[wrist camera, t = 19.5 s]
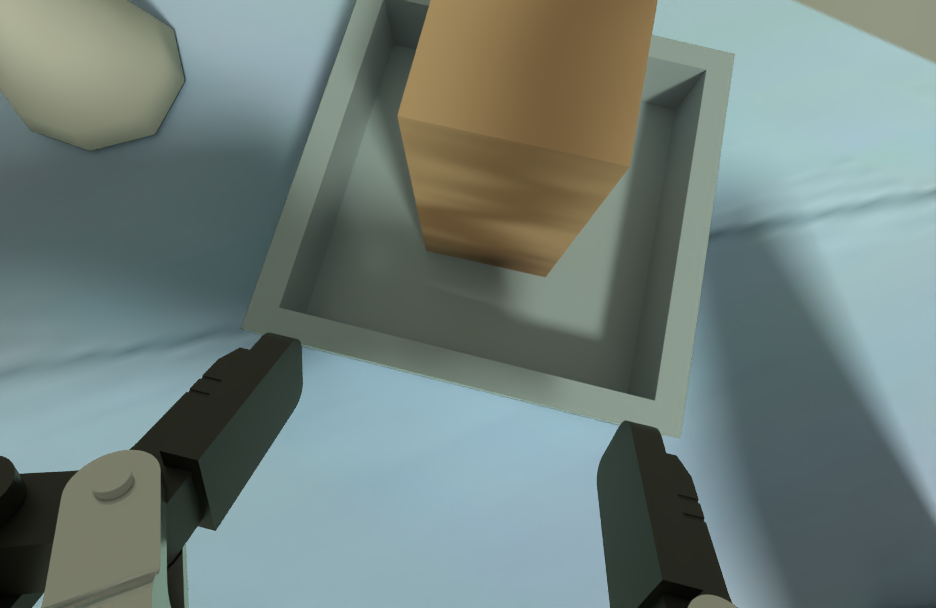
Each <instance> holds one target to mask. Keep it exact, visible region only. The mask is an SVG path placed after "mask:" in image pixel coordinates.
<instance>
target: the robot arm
mask: <svg viewBox="0 0 936 608" xmlns="http://www.w3.org/2000/svg"><path fill="white" fill-rule="evenodd" d="M302 387H303V376H302V347H301V342H300V340H298V339H295V338H291V337H286V336H282V335H278V334H274V333H270V332H268V333H266V334H264V335H263V336H262V337H261V338H260V339H259V340H258V342H257V343H256V344H255V345H254V346H253V347H252V348H251V349H250V350H248V349H244V348H238V349H236V350H235V351H233V352H231V353H229V354H227V355H225V356H224V357H222V358H220V359H218V360H217V361H216V362H215V363H214V364H213V365H212V366H211V367H210V368H209V369H208V370H207V371H206V373H205V374H204V375H203V377H202V379H199V380H198V381H197V382H196V383H195V384H194V385H193V386H192V387H191V388H190V391H189V392H186V393H185V394H184V395H183V396H182V397H181V398H180V399H179V400H178V401H177V402H176V403H175V404H174V405H173V406H172V407H171V409H170V410H169V411H168V412H167V413H166V414H165V415H164V416H163V417H162V418H161V419H160V420H159V421H158V422H157V423H156V424H155V425H154V426H153V427H152V428H151V429H150V430H149V431H148V432H147V433H146V434H145V435H144V436H143V437H142V438H141V439H140V440H139V441H138V442H137V443H136V444H135V445H134V446H133V447H132V448H131V449H129V450H123V451H118V452H114V453H110V454H107V455H105V456H102V457H100V458H98V459H96V460H94V461H92V462H90V463H89V464H87V465H86V466H84V467H83V468H82V469H80V470H78V471H65V472H45V473H26V474H19V473H18V471H17V470H16V468H15V466H14V465H13V463H12V462H11V461H10V460H9V459H7V458H5V457H3V456H0V608H32V607H33V606H34V604H35V603H36V602H37V601H38V599H39V598H40V597H41V596H42V595H43V593H44V598H43V603H42V607H41V608H189V603H188V579H187V555H186V544H185V543H186V542H187V541H188V539H189V538H190V536H191V535H192V533H193V532H194V530H195V529H196V528H197V526H199V527H203V528H207V529H211V530H215V531H216V529H217V528H218V526H219V525H220V523H221V522H222V520H223V519H224V517H225V516H226V514H227V513H228V511H229V509H230V508H231V506H232V505H233V503H234V502H235V500H236V499H237V497H238V496H239V494H240V493H241V491H242V489H243V488H244V486H245V485H246V483H247V482H248V480H249V479H250V477H251V476H252V474H253V473H254V471H255V469H256V468H257V466H258V465H259V463H260V462H261V460H262V459H263V457H264V456H265V454H266V453H267V451H268V449H269V448H270V446H271V445H272V443H273V442H274V440H275V439H276V437H277V436H278V434H279V433H280V431H281V429H282V428H283V426H284V425H285V423H286V422H287V420H288V419H289V417H290V416H291V414H292V413H293V411H294V409H295V408H296V406H297V404H298V402H299V399H300V396H301V392H302ZM597 490H598V499H599V508H600V518H601V527H602V536H603V546H604V555H605V564H606V573H607V583H608V592H609V601H610V608H738V607H736V606H735V605H734V604H732V602H731V599H730V596H729V594H728V591H727V588H726V584H725V581H724V578H723V575H722V572H721V569H720V566H719V562H718V559H717V556H716V553H715V550H714V547H713V543H712V540H711V537H710V534H709V531H708V528H707V525H706V523H705V522H704V515H703V512H702V509H701V506H700V504H699V503H698V496H697V493H696V490H695V487H694V484H693V480H692V477H691V476H690V474H689V473H688V471H687V470H686V469H685V467H684V466H683V464H682V463H681V461H680V460H679V459H678V457H677V456H676V455H671V454H667V453H666V451H665V447H664V444H663V440H662V436H661V433H660V431H659V430H658V429H657V428H655V427H651V426H647V425H643V424H639V423H635V422H631V421H626V420H625V421H623V422H622V423H621V424H620V426H619V428H618V429H617V431H616V433H615V435H614V437H613V438H612V440H611V442H610V444H609V446H608V447H607V449H606V451H605V453H604V455H603V456H602V458H601V461H600V463H599V467H598V472H597Z"/></svg>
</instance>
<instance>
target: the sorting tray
mask: <svg viewBox="0 0 936 608" xmlns="http://www.w3.org/2000/svg"><path fill="white" fill-rule="evenodd" d="M430 1H431V0H357V1H356V4H355V7H354V9H353V12H352V15H351V18H350V21H349V24H348V26H347V29H346V32H345V35H344V38H343V41H342V43H341V46H340V49H339V52H338V55H337V58H336V60H335V63H334V66H333V69H332V72H331V75H330V77H329V80H328V83H327V86H326V89H325V92H324V94H323V97H322V100H321V103H320V106H319V108H318V111H317V114H316V117H315V120H314V123H313V125H312V128H311V131H310V134H309V137H308V140H307V142H306V145H305V148H304V151H303V154H302V157H301V159H300V162H299V165H298V168H297V171H296V174H295V176H294V179H293V182H292V185H291V188H290V191H289V193H288V196H287V199H286V202H285V205H284V208H283V210H282V213H281V216H280V219H279V222H278V225H277V227H276V230H275V233H274V236H273V239H272V242H271V244H270V247H269V250H268V253H267V256H266V259H265V261H264V264H263V267H262V270H261V273H260V276H259V278H258V281H257V284H256V287H255V290H254V293H253V295H252V298H251V301H250V304H249V307H248V310H247V312H246V315H245V318H244V321H243V324H242V327H241V329H243V330H247V331H250V332H253V333H257V334H260V335H264V334H266V333H268V332H270V333H274V334H278V335H282V336H286V337H291V338H295V339H298V340H300V342H301V346H304V347H308V348H312V349H316V350H320V351H324V352H328V353H332V354H336V355H340V356H344V357H348V358H352V359H356V360H360V361H364V362H368V363H372V364H376V365H380V366H384V367H388V368H392V369H396V370H400V371H404V372H408V373H412V374H416V375H420V376H424V377H428V378H432V379H436V380H440V381H444V382H448V383H452V384H456V385H460V386H464V387H468V388H472V389H476V390H480V391H484V392H488V393H492V394H496V395H500V396H504V397H508V398H512V399H516V400H520V401H524V402H528V403H532V404H536V405H540V406H544V407H548V408H552V409H556V410H560V411H564V412H568V413H572V414H576V415H580V416H584V417H588V418H592V419H596V420H600V421H604V422H608V423H612V424H616V425H620V424H621V423H622V422H623V421H625V420H626V421H631V422H635V423H639V424H643V425H647V426H651V427H655V428H657V429H658V430H659V431H660V433H661V435H665V436H670V437H675V438H680V437H681V430H682V423H683V415H684V408H685V401H686V394H687V387H688V380H689V373H690V366H691V359H692V352H693V345H694V338H695V331H696V324H697V317H698V310H699V303H700V295H701V288H702V281H703V274H704V267H705V260H706V253H707V246H708V239H709V232H710V225H711V218H712V211H713V204H714V197H715V190H716V183H717V175H718V168H719V161H720V154H721V147H722V140H723V133H724V126H725V119H726V112H727V105H728V98H729V91H730V84H731V77H732V70H733V63H734V55H735V54H733V53H728V52H724V51H720V50H715V49H711V48H707V47H702V46H698V45H693V44H689V43H685V42H680V41H676V40H671V39H667V38H663V37H658V36H654V35H652V36H651V42H650V48H649V54H648V61H647V67H646V73H645V79H644V85H643V91H642V97H641V103H640V109H639V115H638V121H637V127H636V133H635V139H634V145H633V151H632V157H631V163H630V167H629V169H628V170H627V171H626V173H625V174H624V175H623V176H622V178H621V179H620V180H619V182H618V183H617V184H616V186H615V187H614V188H613V190H612V191H611V192H610V194H609V195H608V196H607V197H606V199H605V200H604V201H603V203H602V204H601V205H600V207H599V208H598V209H597V211H596V212H595V213H594V214H593V216H592V217H591V218H590V220H589V221H588V222H587V224H586V225H585V226H584V228H583V229H582V230H581V232H580V233H579V234H578V235H577V237H576V238H575V239H574V241H573V242H572V243H571V245H570V246H569V247H568V249H567V250H566V251H565V253H564V254H563V255H562V256H561V258H560V259H559V260H558V262H557V263H556V264H555V266H554V267H553V268H552V270H551V271H550V272H549V273H548V275H547V276H546V277H541V276H537V275H532V274H528V273H524V272H519V271H515V270H510V269H506V268H501V267H497V266H492V265H488V264H483V263H479V262H475V261H470V260H466V259H461V258H457V257H452V256H448V255H443V254H439V253H434V252H430V251H426V248H425V243H424V238H423V234H422V229H421V224H420V220H419V215H418V210H417V206H416V201H415V197H414V192H413V187H412V183H411V178H410V173H409V169H408V164H407V159H406V155H405V150H404V145H403V141H402V136H401V131H400V127H399V122H398V117H397V115H398V111H399V108H400V105H401V101H402V98H403V94H404V91H405V87H406V84H407V80H408V77H409V73H410V70H411V67H412V63H413V60H414V56H415V53H416V49H417V46H418V42H419V39H420V35H421V32H422V29H423V25H424V22H425V18H426V15H427V11H428V8H429V4H430Z"/></svg>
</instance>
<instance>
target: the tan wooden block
mask: <svg viewBox="0 0 936 608" xmlns="http://www.w3.org/2000/svg"><path fill="white" fill-rule="evenodd" d="M656 6H657V0H431V1H430V4H429V8H428V11H427V15H426V18H425V22H424V25H423V29H422V32H421V35H420V39H419V42H418V46H417V49H416V53H415V56H414V60H413V63H412V67H411V70H410V73H409V77H408V80H407V84H406V87H405V91H404V94H403V98H402V101H401V105H400V108H399V111H398V115H397V117H398V122H399V127H400V131H401V136H402V141H403V145H404V150H405V155H406V159H407V164H408V169H409V173H410V178H411V183H412V187H413V192H414V197H415V201H416V206H417V210H418V215H419V220H420V224H421V229H422V234H423V238H424V243H425V248H426V251H430V252H434V253H439V254H443V255H448V256H452V257H457V258H461V259H466V260H470V261H475V262H479V263H483V264H488V265H492V266H497V267H501V268H506V269H510V270H515V271H519V272H524V273H528V274H532V275H537V276H541V277H546V276H547V275H548V273H549V272H550V271H551V270H552V268H553V267H554V266H555V264H556V263H557V262H558V260H559V259H560V258H561V256H562V255H563V254H564V253H565V251H566V250H567V249H568V247H569V246H570V245H571V243H572V242H573V241H574V239H575V238H576V237H577V235H578V234H579V233H580V232H581V230H582V229H583V228H584V226H585V225H586V224H587V222H588V221H589V220H590V218H591V217H592V216H593V214H594V213H595V212H596V211H597V209H598V208H599V207H600V205H601V204H602V203H603V201H604V200H605V199H606V197H607V196H608V195H609V194H610V192H611V191H612V190H613V188H614V187H615V186H616V184H617V183H618V182H619V180H620V179H621V178H622V176H623V175H624V174H625V173H626V171H627V170H628V169H629V167H630V163H631V157H632V151H633V145H634V139H635V133H636V127H637V121H638V115H639V109H640V103H641V97H642V91H643V85H644V79H645V73H646V67H647V61H648V54H649V48H650V42H651V36H652V30H653V24H654V18H655V12H656Z"/></svg>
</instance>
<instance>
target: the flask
mask: <svg viewBox="0 0 936 608" xmlns="http://www.w3.org/2000/svg"><path fill="white" fill-rule="evenodd" d="M184 82H185V80H184V76H183V71H182V67H181V62H180V57H179V53H178V48H177V43H176V39H175V34H174V30H173V29H171V28H170V27H168V26H167V25H165V24H164V23H162V22H161V21H159V20H158V19H156V18H155V17H153V16H152V15H150V14H148V13H147V12H145V11H144V10H142V9H140V8H139V7H137V6H135V5H134V4H132V3H131V2H129V1H127V0H0V91H1V92H2V93H3V95H4V96H5V97H6V99H7V100H8V101H9V103H10V104H11V106H12V107H13V108H14V110H15V111H16V112H17V114H18V115H19V116H20V117H21V119H22V120H23V121H24V122H25V124H26V125H27V126H28V127H29V129H30V130H31V131H34V132H37V133H40V134H43V135H45V136H48V137H51V138H54V139H57V140H60V141H63V142H65V143H68V144H71V145H74V146H77V147H80V148H83V149H85V150H88V151H91V150H95V149H99V148H103V147H107V146H111V145H115V144H119V143H123V142H127V141H131V140H135V139H139V138H143V137H146V136H150V135H154V134H156V132H157V130H158V128H159V127H160V125H161V123H162V121H163V119H164V118H165V116H166V114H167V112H168V110H169V109H170V107H171V105H172V103H173V101H174V100H175V98H176V96H177V94H178V92H179V91H180V89H181V87H182V85H183V84H184Z"/></svg>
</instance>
